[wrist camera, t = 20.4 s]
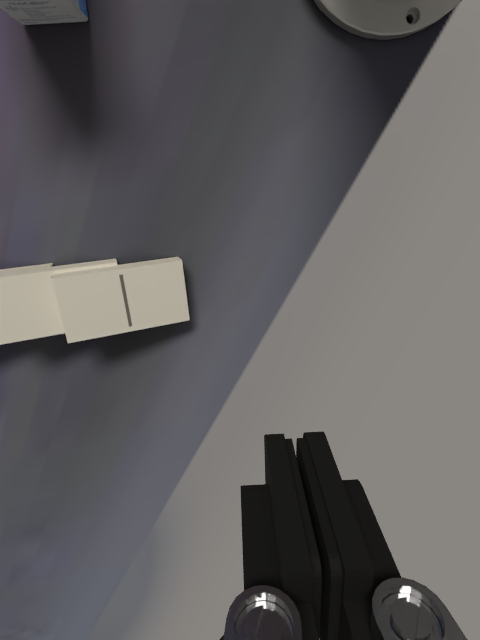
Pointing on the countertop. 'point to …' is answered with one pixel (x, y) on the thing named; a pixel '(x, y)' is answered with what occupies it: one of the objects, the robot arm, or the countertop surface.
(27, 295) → the domino
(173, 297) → the domino
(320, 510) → the robot arm
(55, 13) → the medicine box
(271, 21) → the countertop surface
